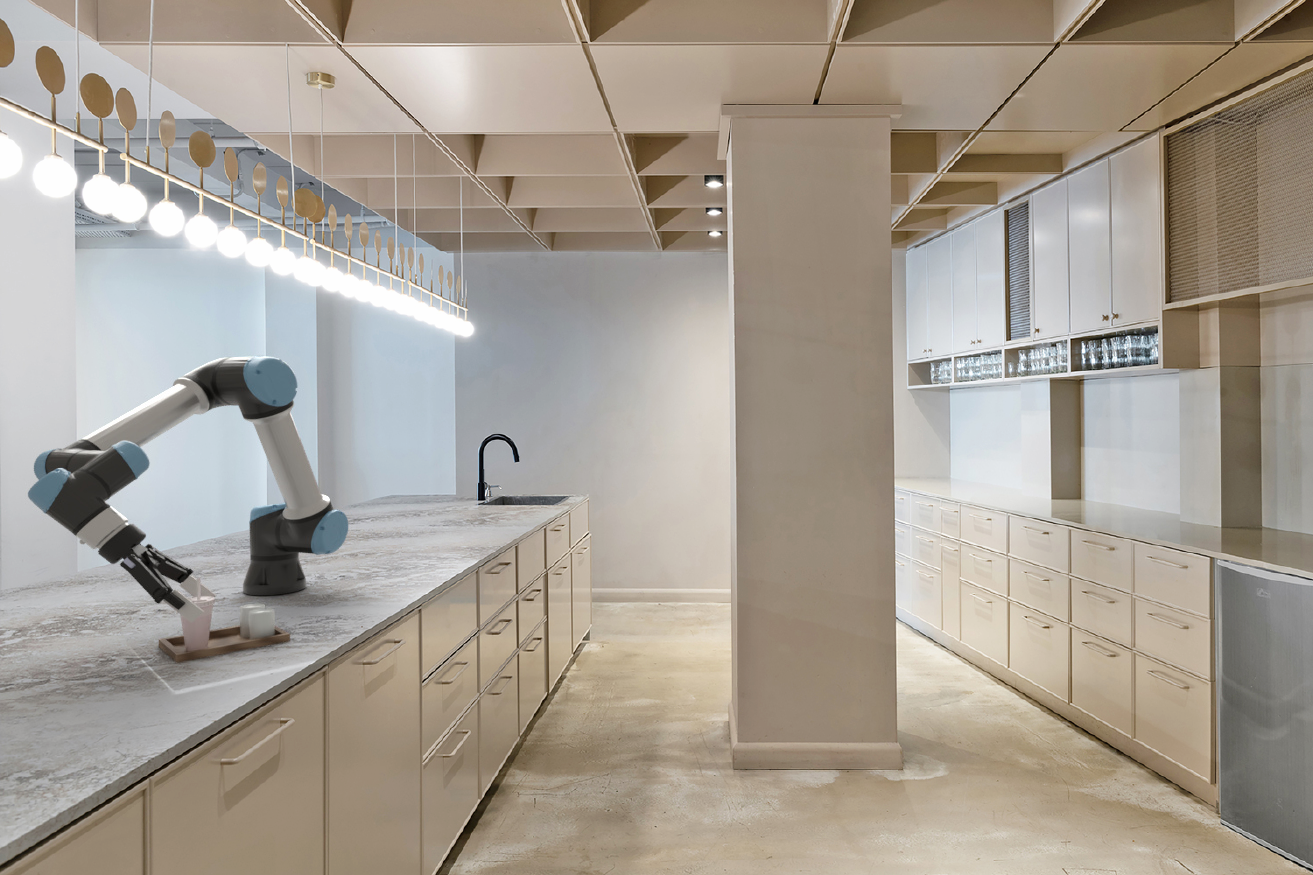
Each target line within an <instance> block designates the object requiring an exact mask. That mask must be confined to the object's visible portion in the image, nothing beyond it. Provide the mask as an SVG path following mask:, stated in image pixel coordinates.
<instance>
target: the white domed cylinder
mask: <svg viewBox="0 0 1313 875" xmlns="http://www.w3.org/2000/svg"><path fill="white" fill-rule="evenodd" d="M275 624H276V623H275V609H274V608H271V607H265V608H261V609H255V610H252V611H250V612H249V640H253V639H258V638H263V637H269V636H274V635H275V626H276V625H275Z"/></svg>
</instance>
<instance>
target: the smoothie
mask: <svg viewBox="0 0 1313 875" xmlns="http://www.w3.org/2000/svg"><path fill="white" fill-rule="evenodd" d="M196 579H197V597H193V596H192V597H191V596H190V597H187V598H188V599H189V600H191V601H192V602H193V603H194V604H196V605H197V606H198V607H199V608H201V609H202V610H203V611H204V612H203V613H202V614H201V615H200V616H199V617H198V618H196V619H195V620H194V621H193V622H192V623H191V622H190V621H188V620H187V619H186V618H185V617H183V616H182V615H181V614H179V616H180V621H181V628H182V635H184V642H185V649H186V651H193V650H199V649H204V648H208V641H209V633H210V630H211V623H212V617H213V609H214V605H215V604H216V597H215V598H214V597H211V596H201V593H200V583H201V577H197V578H196Z"/></svg>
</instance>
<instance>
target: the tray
mask: <svg viewBox="0 0 1313 875" xmlns="http://www.w3.org/2000/svg"><path fill="white" fill-rule="evenodd" d="M290 641H291V634H290V633H289V632H287V631H285V629H284V630H283V629H282V628H280V627H278V626H277V625H275V635H274V636H269V637H263V638H258V639H253V640H249V638H243V637H240V624H239V625H234V626H228V627H223V628H217V629H210V633H209V641H208V648H204V649H199V650H193V651H186V649H185V642H184V635H183V634H181V635H176V636H170V637H163V638H158V647H159V648H160V649H161V650H162V651H163V652H164V653H165V654H166V655H168V656H169V657H170V659H172V660H173V661H174V662H175V663H183V662H188V661H194V660H198V659H204V658H209V657H214V656H220V655H223V654H225V655H226V654H230V653H234V652H240V651H244V650H251V649H255V648H256V649H257V648H260V647H266V646H271V645H275V644H281V643H282V644H283V643H286V642H290Z"/></svg>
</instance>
